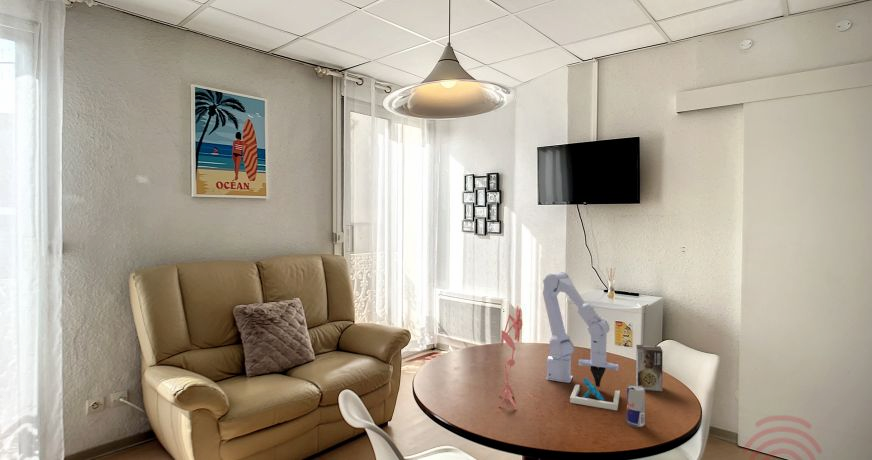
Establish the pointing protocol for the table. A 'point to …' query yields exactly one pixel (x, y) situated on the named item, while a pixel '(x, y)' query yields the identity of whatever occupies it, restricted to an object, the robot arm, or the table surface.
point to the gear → (592, 390)
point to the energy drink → (635, 406)
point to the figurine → (517, 326)
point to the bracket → (593, 402)
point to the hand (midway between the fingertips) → (597, 385)
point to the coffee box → (649, 367)
